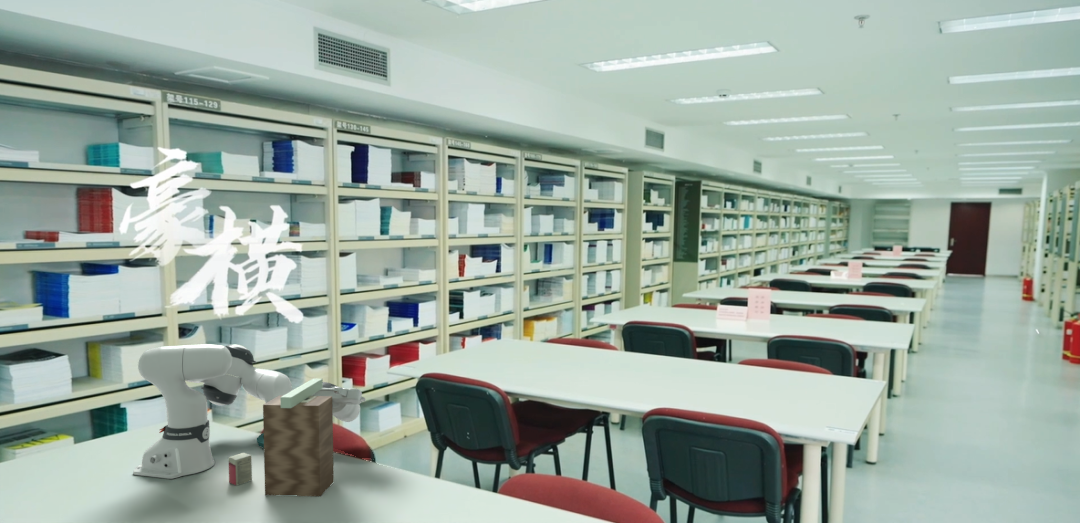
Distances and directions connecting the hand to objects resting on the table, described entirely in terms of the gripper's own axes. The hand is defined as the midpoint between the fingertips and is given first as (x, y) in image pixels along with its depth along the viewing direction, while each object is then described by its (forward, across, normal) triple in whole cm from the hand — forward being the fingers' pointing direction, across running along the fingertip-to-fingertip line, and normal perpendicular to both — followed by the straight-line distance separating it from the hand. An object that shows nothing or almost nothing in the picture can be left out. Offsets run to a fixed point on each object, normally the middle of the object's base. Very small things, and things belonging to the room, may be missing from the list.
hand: (321, 389), depth 198 cm
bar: (+11, +1, -6) cm, 13 cm away
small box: (-3, +21, -28) cm, 35 cm away
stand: (+1, +1, -30) cm, 30 cm away
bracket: (-28, +23, -12) cm, 38 cm away
